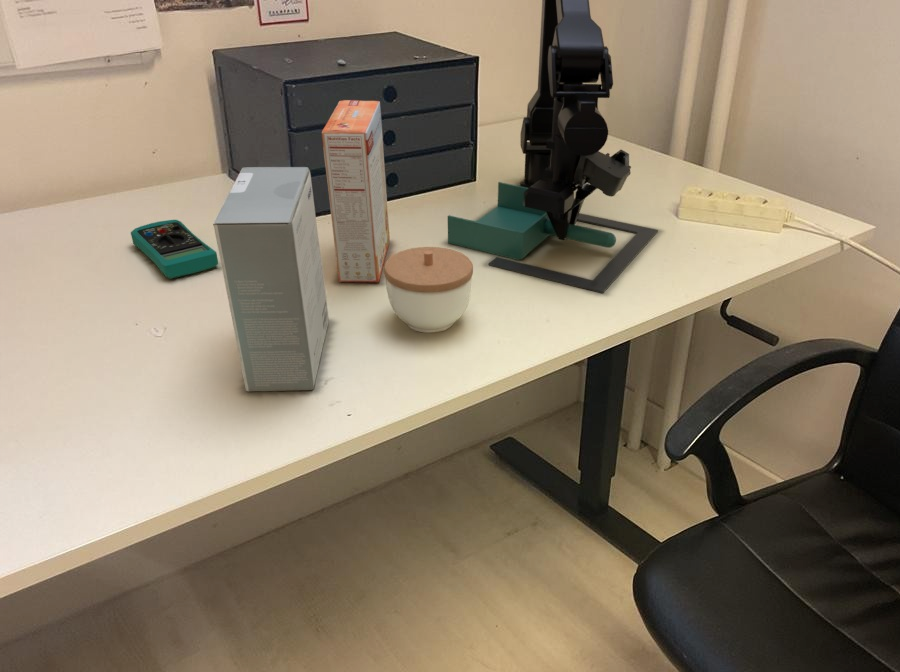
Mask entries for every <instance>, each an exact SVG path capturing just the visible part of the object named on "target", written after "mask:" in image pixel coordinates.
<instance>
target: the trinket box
mask: <svg viewBox="0 0 900 672" xmlns="http://www.w3.org/2000/svg"><path fill="white" fill-rule="evenodd" d="M383 273H384V277H385V286H386V293H387V298H388V301H389V303H390V307H391V308H392V310H393V312H394V313H395V314H396V316H397V317H398V318H399V319H400V320H401V321H402V322H404V323H406V325H407V327H408V328H409V329H411V330H414V331H416V332H418V333H425V334H427V333H428V334H429V333H430V334H433V333H439V332H444V331H446V330H448V329H450V328H452V327H453V325H454V324H455V322H456V321H458V320H459V318H461V317H462V316H463V314H464V313H465V311H466V309H467V308H468V305H469V302H470V300H471V299H470V298H471V295H472V289H473V287H472V286H473V274H474V263H473V262H472V260H471V259H470V257H468V256H467V255H465V254H464V253H462V252H460V251H457V250H454V249H451V248H446V247H438V246H420V247H413V248H408V249H405V250H401V251H398V252H396V253H394V254H392V255H391V256H389V258H387V260H386V261H385V262H384V264H383Z"/></svg>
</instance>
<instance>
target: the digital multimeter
mask: <svg viewBox="0 0 900 672" xmlns="http://www.w3.org/2000/svg"><path fill="white" fill-rule="evenodd" d="M130 236H131V241H132V244H133V245H134V246H135V247H137V248H138V250H140V251H141V252H142V253H144V255H145V256H147V258H149V260H151V261H152V262H153V263H154V265H155V266H156V267H157V268H158V269H159V270H160V271H161V273H162V274H163V275H164V276H165V277H166V278H168V279H176V278H180V277H183V276H189V275H193V274H196V273H200V272H203V271H207V270H211V269H213V268H216V267H217V266H218V265H219V258H218V253H217V251H216V250H215V249H213V248H212V247H210V246H209V245H208V244H206V243H205V242H204V241H202V240H201V239H200V238H199V237H198V236H196V235H195V234H194V233H193V232H192V231H191V230H190V229H189V228H188V227H187V226H186V225H185V224H184V223H183V222H182V221H180V220H178V219H168V220H161V221H155V222H151V223H147V224H143V225H140V226H138V227H136V228H134V229H132V230H131V231H130Z"/></svg>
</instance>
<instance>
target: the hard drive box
mask: <svg viewBox="0 0 900 672" xmlns="http://www.w3.org/2000/svg"><path fill="white" fill-rule="evenodd" d="M212 226H213V230H214V235H215V239H216V244H217V250H218V255H219V259H220V265H221V269H222V270H221V271H222V275H223V280H224V285H225V291H226V295H227V300H228V307H229V311H230V316H231V321H232V326H233V332H234V336H235V342H236V347H237V352H238V358H239V363H240V368H241V374H242V378H243V383H244V388H245V392H281V391H282V392H283V391H285V392H287V391H312V390H313V389H314V388H315V383H316V378H317V375H318V371H319V365H320V361H321V358H322V353H323V347H324V343H325V340H326V337H327V330H328V325H329V321H330V320H329V308H328V300H327V293H326V285H325V277H324V270H323V263H322V262H323V261H322V255H321V246H320V240H319V231H318V224H317V216H316V208H315V200H314V191H313V182H312V175H311V169H309V167H306V166H255V167H254V166H249V167H246V166H245V167H241V170H240V171H239V173H238V175H237V176H236V178H235V180H234V183H233V185H232V186H231V187H230V190H229V192H228V195H227V197H226V198H225V199H224V202H223V203H222V205H221V207H220V210H219V211H218V213H217V215H216V217H215V219H214V221H213V222H212Z"/></svg>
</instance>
